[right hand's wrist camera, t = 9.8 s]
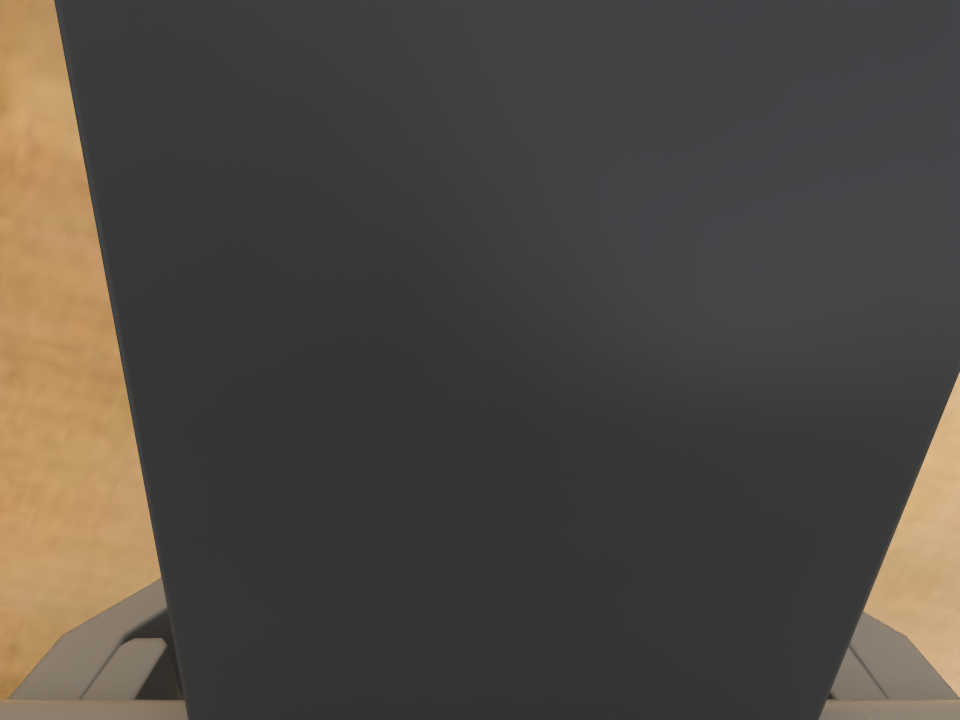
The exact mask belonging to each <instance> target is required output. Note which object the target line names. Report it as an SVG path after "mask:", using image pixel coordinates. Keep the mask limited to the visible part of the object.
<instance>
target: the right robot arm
mask: <svg viewBox="0 0 960 720" xmlns="http://www.w3.org/2000/svg"><path fill="white" fill-rule="evenodd" d="M0 720H188V716H187V711H186V706H185V700H184V695H183V689H182V684H181V679H180V673H179V668H178V663H177V657H176V652H175V646H174V641H173V636H172V630H171V625H170V620H169V614H168V609H167V603H166V598H165V593H164V587H163V582H162V578H160V579H159V580H157V581H155V582H154V583H152V584H150V585H148V586H147V587H145V588H143V589H141V590H140V591H138V592H136V593H135V594H133V595H131V596H129V597H128V598H126V599H124V600H123V601H121V602H119V603H117V604H116V605H114V606H112V607H110V608H109V609H107V610H105V611H104V612H102V613H100V614H98V615H97V616H95V617H93V618H92V619H90V620H88V621H86V622H85V623H83V624H81V625H80V626H78V627H76V628H74V629H73V630H71V631H69V632H67V633H66V634H64V635H62V636H61V637H60V639H59V640H58V641H57V642H56V643H55V644H54V646H53V647H52V648H51V649H50V650H49V651H48V653H47V654H46V655H45V656H44V657H43V659H42V660H41V661H40V662H39V663H38V664H37V666H36V667H35V668H34V669H33V670H32V671H31V673H30V674H29V675H28V676H27V677H26V678H25V680H24V681H23V682H22V683H21V684H20V685H19V687H18V688H17V689H16V690H15V691H14V692H13V694H12V695H11V696H10V697H9V698H8V699H7V700H0ZM819 720H960V698H959V697H958V695H957V694H956V693H955V692H954V691H953V690H952V688H951V687H950V686H949V685H948V684H947V683H946V682H945V680H944V679H943V678H942V677H941V676H940V675H939V673H938V672H937V671H936V670H935V669H934V668H933V667H932V665H931V664H930V663H929V662H928V661H927V660H926V658H925V657H924V656H923V655H922V654H921V653H920V652H919V650H918V649H917V648H916V647H915V646H914V645H913V643H912V642H911V641H910V640H909V639H908V638H907V637H906V636H905V635H903V634H901V633H899V632H898V631H896V630H894V629H893V628H891V627H889V626H887V625H886V624H884V623H882V622H880V621H879V620H877V619H875V618H874V617H872V616H870V615H868V614H867V613H865V612H862V614H861V617H860V619H859V622H858V624H857V627H856V629H855V632H854V634H853V637H852V639H851V642H850V644H849V646H848V649H847V651H846V654H845V656H844V659H843V661H842V664H841V666H840V669H839V671H838V674H837V676H836V679H835V681H834V684H833V686H832V689H831V691H830V693H829V696H828V698H827V701H826V703H825V706H824V708H823V711H822V713H821V716H820V718H819Z"/></svg>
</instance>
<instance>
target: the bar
mask: <svg viewBox="0 0 960 720" xmlns="http://www.w3.org/2000/svg"><path fill="white" fill-rule="evenodd" d="M54 1H55V6H56V12H57V17H58V22H59V28H60V33H61V39H62V44H63V49H64V55H65V60H66V66H67V71H68V76H69V82H70V87H71V92H72V98H73V103H74V109H75V114H76V119H77V125H78V130H79V135H80V141H81V146H82V152H83V157H84V162H85V168H86V173H87V178H88V184H89V189H90V195H91V200H92V205H93V211H94V216H95V222H96V227H97V232H98V238H99V243H100V248H101V254H102V259H103V265H104V270H105V275H106V281H107V286H108V291H109V297H110V302H111V308H112V313H113V318H114V324H115V329H116V334H117V340H118V345H119V351H120V356H121V361H122V367H123V372H124V377H125V383H126V388H127V394H128V399H129V404H130V410H131V415H132V421H133V426H134V431H135V437H136V442H137V447H138V453H139V458H140V464H141V469H142V474H143V480H144V485H145V490H146V496H147V501H148V507H149V512H150V517H151V523H152V528H153V533H154V539H155V544H156V550H157V555H158V560H159V566H160V571H161V577H162V582H163V587H164V593H165V598H166V603H167V609H168V614H169V620H170V625H171V630H172V636H173V641H174V646H175V652H176V657H177V663H178V668H179V673H180V679H181V684H182V689H183V695H184V700H185V706H186V711H187V716H188V720H819V718H820V716H821V713H822V711H823V708H824V706H825V703H826V701H827V698H828V696H829V693H830V691H831V689H832V686H833V684H834V681H835V679H836V676H837V674H838V671H839V669H840V666H841V664H842V661H843V659H844V656H845V654H846V651H847V649H848V646H849V644H850V642H851V639H852V637H853V634H854V632H855V629H856V627H857V624H858V622H859V619H860V617H861V614H862V612H863V609H864V607H865V604H866V602H867V599H868V597H869V594H870V592H871V590H872V587H873V585H874V582H875V580H876V577H877V575H878V572H879V570H880V567H881V565H882V562H883V560H884V557H885V555H886V552H887V550H888V547H889V545H890V543H891V540H892V538H893V535H894V533H895V530H896V528H897V525H898V523H899V520H900V518H901V515H902V513H903V510H904V508H905V505H906V503H907V500H908V498H909V495H910V493H911V491H912V488H913V486H914V483H915V481H916V478H917V476H918V473H919V471H920V468H921V466H922V463H923V461H924V458H925V456H926V453H927V451H928V448H929V446H930V444H931V441H932V439H933V436H934V434H935V431H936V429H937V426H938V424H939V421H940V419H941V416H942V414H943V411H944V409H945V406H946V404H947V401H948V399H949V396H950V394H951V392H952V389H953V387H954V384H955V382H956V379H957V377H958V374H959V372H960V0H54Z"/></svg>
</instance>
